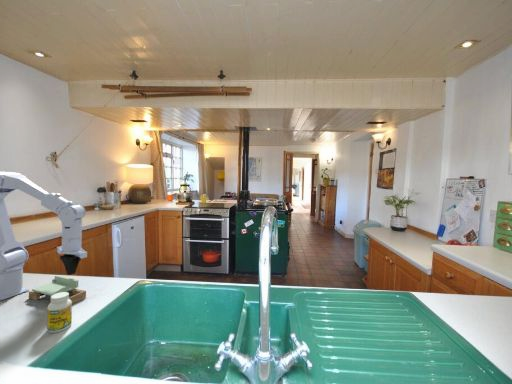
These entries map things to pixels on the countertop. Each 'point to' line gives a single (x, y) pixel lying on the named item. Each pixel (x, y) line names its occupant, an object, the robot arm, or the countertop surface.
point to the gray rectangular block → (50, 296)
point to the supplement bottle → (59, 312)
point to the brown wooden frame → (76, 297)
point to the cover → (57, 286)
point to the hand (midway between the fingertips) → (71, 273)
